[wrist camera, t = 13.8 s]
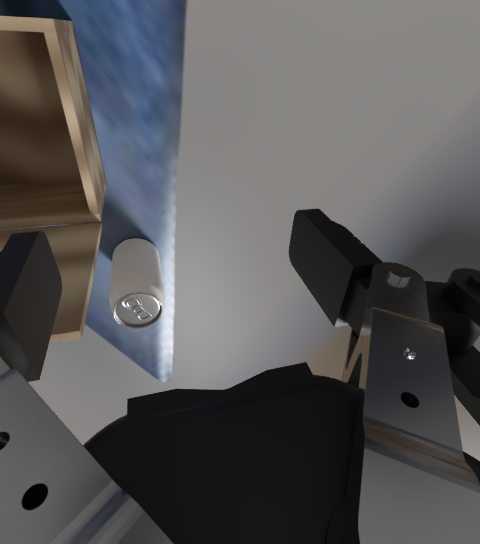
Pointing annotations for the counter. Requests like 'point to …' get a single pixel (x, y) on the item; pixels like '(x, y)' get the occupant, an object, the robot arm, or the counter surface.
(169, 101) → the counter surface
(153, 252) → the can
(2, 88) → the wooden box
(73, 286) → the wooden box lid
